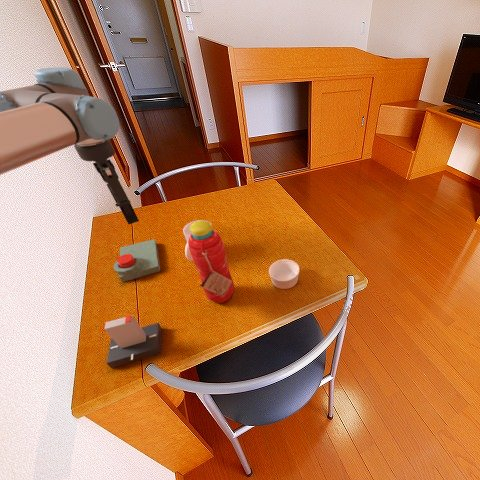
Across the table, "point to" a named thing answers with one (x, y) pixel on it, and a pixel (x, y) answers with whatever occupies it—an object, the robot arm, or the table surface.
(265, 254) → the table surface
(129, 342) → the knob
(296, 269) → the ramekin
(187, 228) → the mug
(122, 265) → the button
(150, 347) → the panel
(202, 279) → the water bottle
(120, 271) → the housing
